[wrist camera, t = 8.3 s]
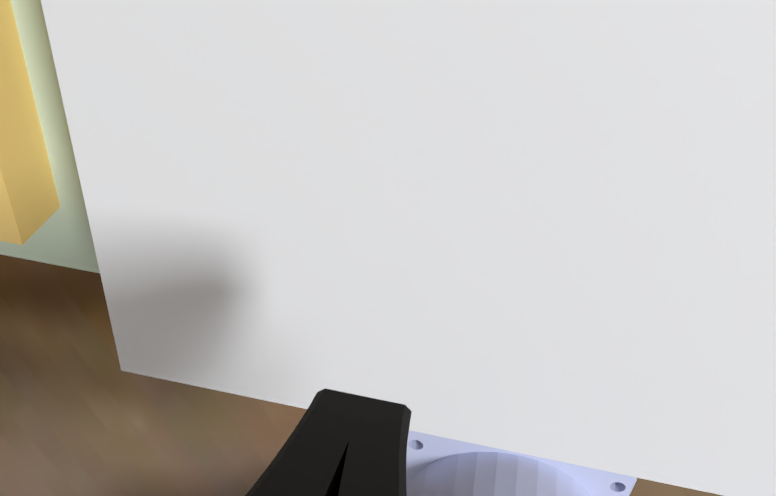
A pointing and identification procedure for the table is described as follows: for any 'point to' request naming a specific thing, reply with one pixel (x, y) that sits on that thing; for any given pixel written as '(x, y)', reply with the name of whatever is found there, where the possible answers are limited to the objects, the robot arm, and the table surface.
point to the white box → (447, 214)
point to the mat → (53, 155)
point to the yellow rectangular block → (20, 144)
